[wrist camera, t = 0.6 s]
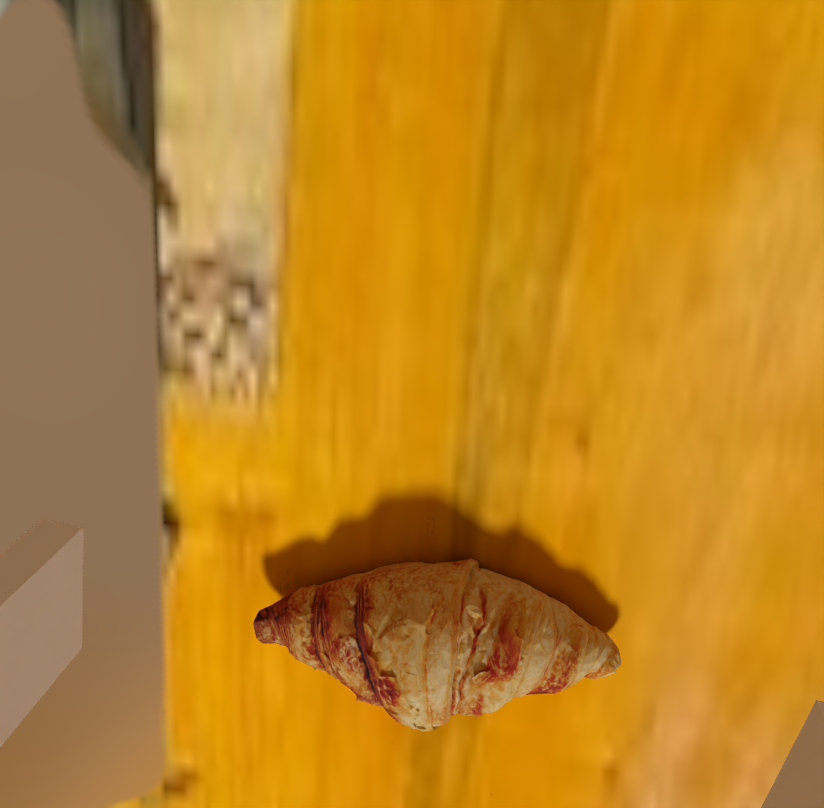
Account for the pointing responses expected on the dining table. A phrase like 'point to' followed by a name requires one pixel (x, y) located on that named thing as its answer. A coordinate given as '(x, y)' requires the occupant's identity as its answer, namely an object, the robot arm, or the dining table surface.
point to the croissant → (437, 639)
